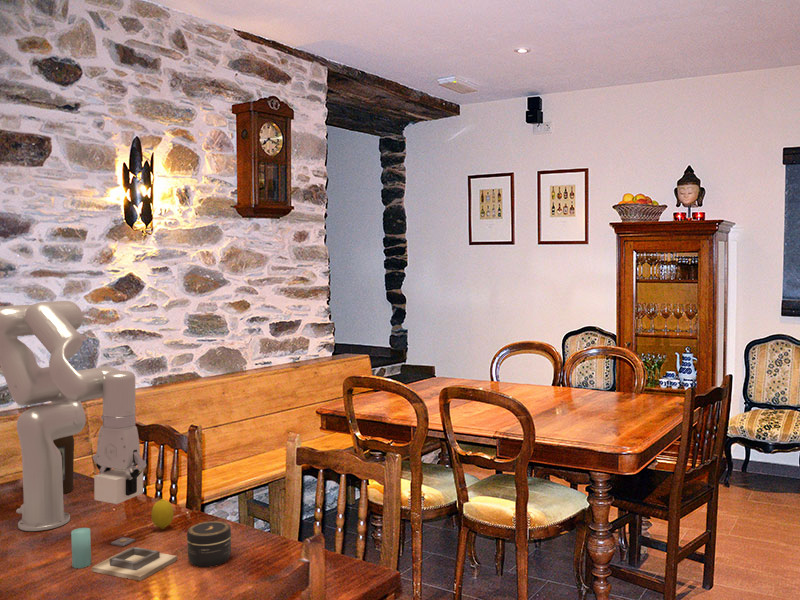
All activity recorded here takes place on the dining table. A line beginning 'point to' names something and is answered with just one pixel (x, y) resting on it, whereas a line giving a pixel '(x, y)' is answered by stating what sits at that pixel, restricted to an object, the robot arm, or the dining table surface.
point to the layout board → (135, 563)
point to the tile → (123, 541)
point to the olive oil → (66, 461)
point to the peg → (81, 547)
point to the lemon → (162, 513)
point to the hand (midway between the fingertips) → (119, 491)
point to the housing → (114, 486)
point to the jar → (209, 543)
